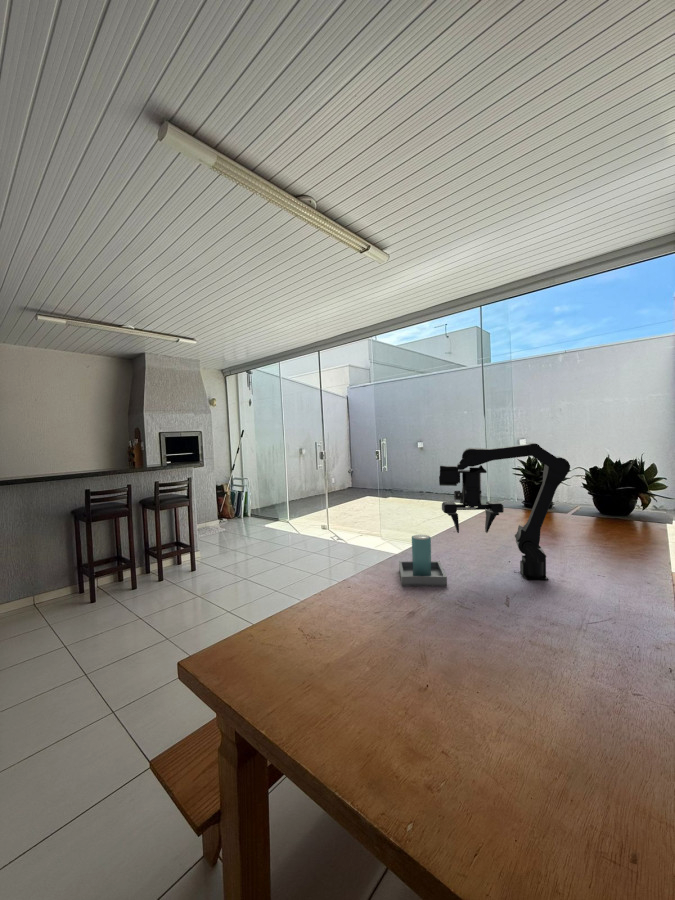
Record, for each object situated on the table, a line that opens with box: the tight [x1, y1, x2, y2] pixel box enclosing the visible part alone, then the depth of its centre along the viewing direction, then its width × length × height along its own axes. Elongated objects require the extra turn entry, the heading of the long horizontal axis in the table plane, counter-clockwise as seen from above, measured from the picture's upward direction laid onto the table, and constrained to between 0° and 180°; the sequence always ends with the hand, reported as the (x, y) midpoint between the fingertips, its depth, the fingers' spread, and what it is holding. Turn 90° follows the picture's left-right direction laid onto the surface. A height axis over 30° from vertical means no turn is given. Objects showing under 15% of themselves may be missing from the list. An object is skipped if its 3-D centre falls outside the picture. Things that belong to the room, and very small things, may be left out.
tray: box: [398, 560, 448, 587], centre depth 125 cm, size 14×14×3 cm
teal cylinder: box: [411, 534, 432, 576], centre depth 125 cm, size 6×6×13 cm
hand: (472, 532), depth 129 cm, fingers open, 9 cm apart
